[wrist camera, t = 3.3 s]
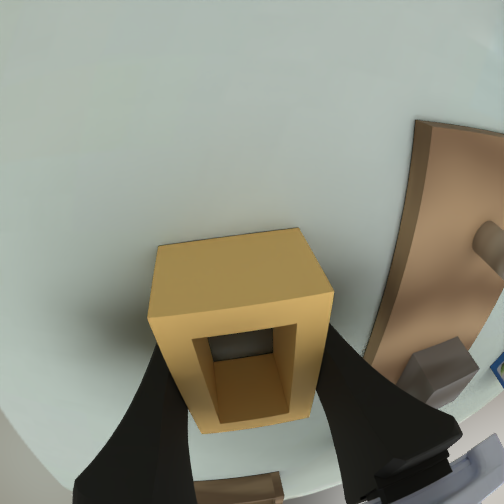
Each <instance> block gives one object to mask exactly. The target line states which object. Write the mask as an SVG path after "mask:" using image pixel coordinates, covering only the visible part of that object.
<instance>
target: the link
mask: <svg viewBox="0 0 504 504" xmlns="http://www.w3.org/2000/svg"><path fill="white" fill-rule="evenodd" d="M333 296H334V290H333V288H332V286H331V285H330V283H329V281H328V279H327V277H326V275H325V274H324V272H323V270H322V268H321V266H320V264H319V263H318V261H317V259H316V257H315V256H314V254H313V252H312V250H311V248H310V247H309V245H308V243H307V241H306V240H305V238H304V236H303V234H302V233H301V231H300V229H299V228H293V229H284V230H276V231H268V232H260V233H252V234H245V235H237V236H229V237H222V238H214V239H207V240H199V241H192V242H185V243H177V244H170V245H163V246H158V251H157V257H156V263H155V269H154V275H153V281H152V288H151V294H150V301H149V309H148V316H147V319H148V321H149V324H150V326H151V329H152V331H153V334H154V336H155V338H156V341H157V343H158V345H159V348H160V350H161V352H162V355H163V357H164V359H165V361H166V364H167V366H168V368H169V370H170V372H171V374H172V377H173V379H174V381H175V383H176V385H177V387H178V389H179V391H180V393H181V395H182V397H183V399H184V401H185V403H186V405H187V407H188V409H189V411H190V413H191V415H192V417H193V419H194V420H195V422H196V424H197V426H198V428H199V430H200V432H201V433H202V434H209V433H219V432H227V431H235V430H243V429H250V428H256V427H262V426H268V425H274V424H279V423H284V422H289V421H294V420H299V419H303V418H308V417H309V415H310V411H311V407H312V403H313V399H314V395H315V390H316V386H317V381H318V377H319V372H320V367H321V363H322V358H323V353H324V348H325V342H326V337H327V332H328V326H329V321H330V315H331V309H332V303H333ZM267 328H273V353H271V354H265V355H259V356H252V357H246V358H239V359H232V360H224V361H217V362H213V358H212V354H211V350H210V346H209V342H208V338H207V337H212V336H220V335H227V334H234V333H241V332H248V331H255V330H261V329H267Z"/></svg>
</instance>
